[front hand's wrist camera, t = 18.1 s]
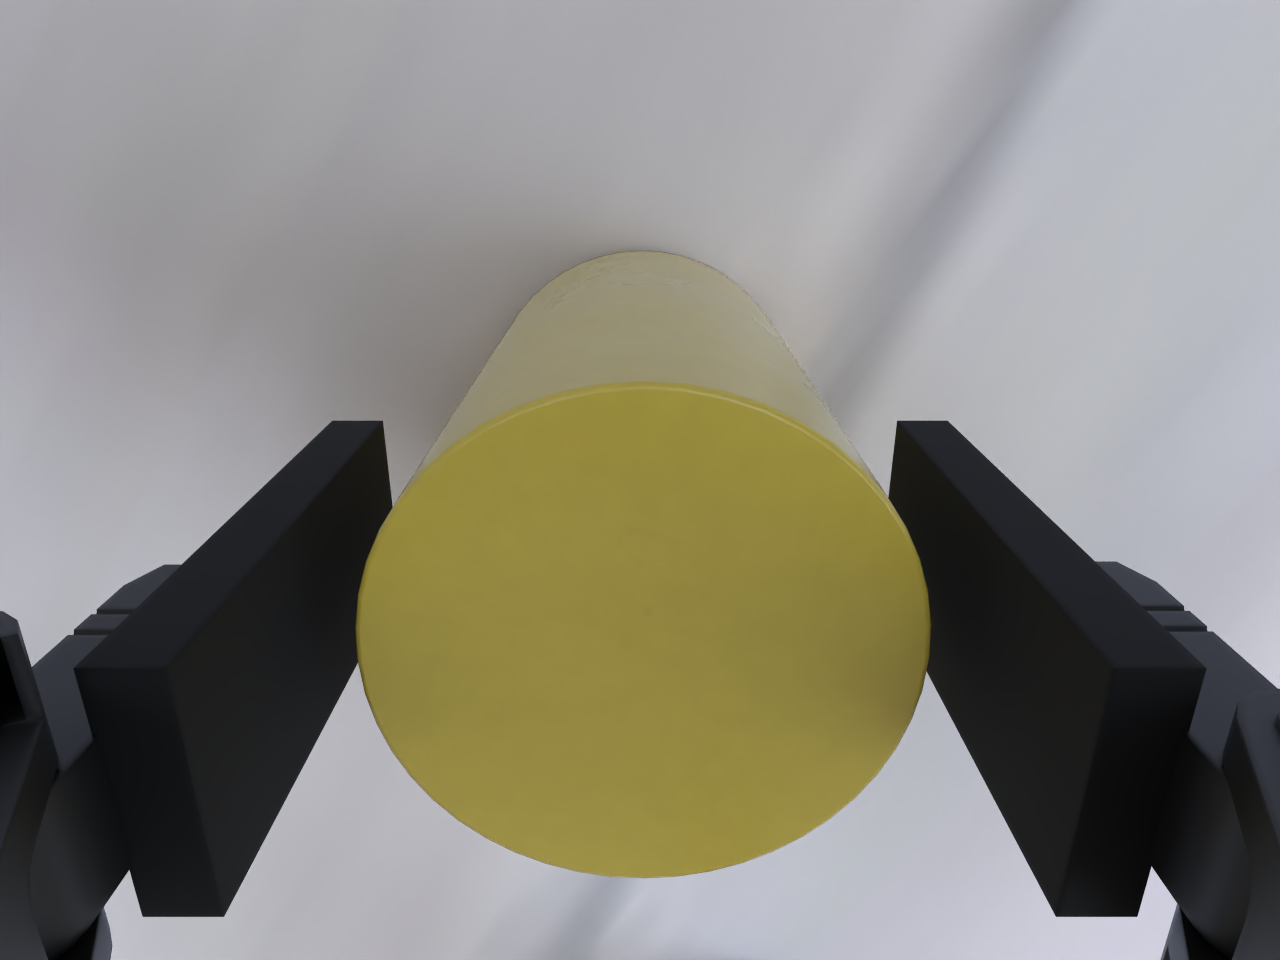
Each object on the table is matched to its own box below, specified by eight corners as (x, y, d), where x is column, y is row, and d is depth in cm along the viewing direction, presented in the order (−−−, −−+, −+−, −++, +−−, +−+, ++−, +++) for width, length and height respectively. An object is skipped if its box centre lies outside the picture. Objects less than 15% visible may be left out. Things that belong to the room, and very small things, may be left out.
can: (523, 551, 20) (425, 905, 11) (465, 273, 18) (281, 427, 9) (799, 517, 20) (936, 852, 11) (777, 230, 17) (928, 341, 8)
